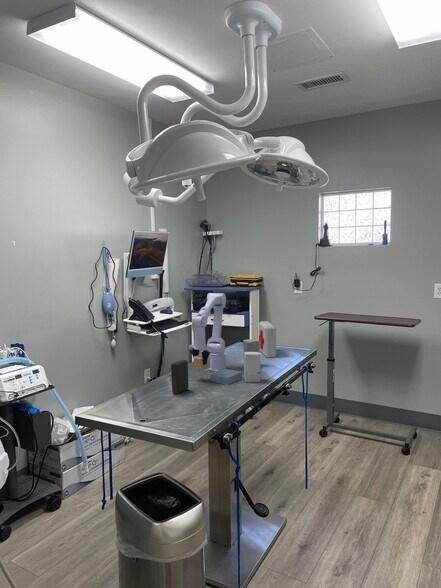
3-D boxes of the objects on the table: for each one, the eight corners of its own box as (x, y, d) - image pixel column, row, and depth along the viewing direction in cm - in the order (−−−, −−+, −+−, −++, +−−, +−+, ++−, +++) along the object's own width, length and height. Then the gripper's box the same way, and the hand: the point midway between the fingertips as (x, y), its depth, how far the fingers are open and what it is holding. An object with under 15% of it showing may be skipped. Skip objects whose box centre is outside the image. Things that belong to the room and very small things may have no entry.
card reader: (183, 388, 220) (182, 359, 218) (189, 389, 218) (188, 360, 216) (171, 393, 213) (170, 363, 211) (177, 394, 210) (176, 364, 209)
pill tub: (200, 364, 236) (199, 354, 235) (207, 365, 233) (207, 355, 232) (194, 366, 231) (193, 356, 231) (201, 368, 228) (201, 357, 228)
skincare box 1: (256, 363, 261) (255, 337, 259) (260, 366, 254) (260, 340, 252) (242, 365, 258) (242, 339, 256) (247, 368, 251) (246, 341, 250)
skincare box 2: (245, 382, 226) (244, 354, 225) (244, 378, 232) (243, 351, 231) (261, 381, 226) (260, 353, 225) (259, 378, 232) (259, 351, 231)
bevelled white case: (257, 350, 293) (257, 321, 291) (269, 349, 294) (268, 320, 292) (264, 358, 273) (263, 327, 270) (276, 357, 273) (276, 326, 271)
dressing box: (225, 375, 240) (225, 368, 240) (241, 379, 233) (241, 371, 233) (210, 382, 230) (210, 374, 229) (227, 385, 223) (227, 378, 223)
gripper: (184, 338, 231) (185, 363, 233) (206, 341, 223) (206, 367, 224) (193, 336, 237) (194, 360, 239) (214, 338, 228) (215, 364, 230)
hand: (200, 363), depth 232 cm, fingers closed on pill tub, 5 cm apart
